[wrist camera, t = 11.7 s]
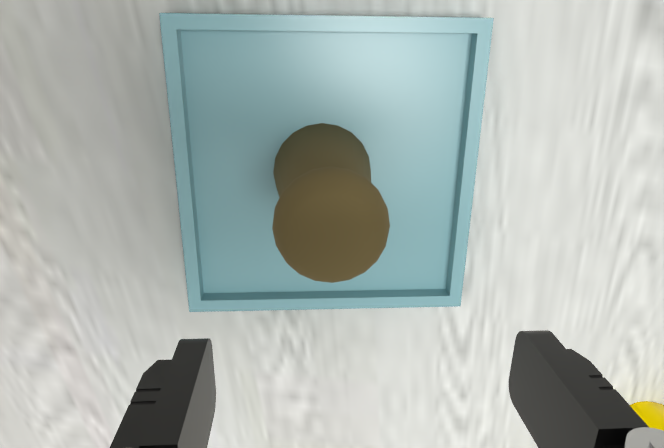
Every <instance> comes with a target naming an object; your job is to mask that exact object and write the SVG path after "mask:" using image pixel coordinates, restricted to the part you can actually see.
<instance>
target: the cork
mask: <svg viewBox="0 0 664 448" xmlns="http://www.w3.org/2000/svg"><path fill="white" fill-rule="evenodd" d="M273 174H274V179H275V184H276V188H277V191H278V194H279V200H278V202H277V204H276V206H275V210H274V218H273V226H272V230H273V235H274V239H275V244H276V246H277V248H278V250H279V251H280V253H281V255H282V256H283V258H284V260H285V261H286V263H287V264H288V265H289V266H290V267H292V268H293V269H294V270H295V271H296V272H297V273H299V274H300V275H302V276H305V277H307V278H309V279H312V280H314V281H320V282H329V283H334V282H340V281H346V280H350V279H352V278H354V277H356V276H359V275H361V274H363V273H365V272H366V271H367V270H368V269H369V268H370V267H371V266H372V265H373V264H375V263H376V262H377V261H378V259H379V257H380V255H381V254H382V252H383V250H384V249H385V247H386V243H387V238H388V233H389V228H390V222H389V214H388V208H387V206H386V204H385V202H384V200H383V198H382V196H381V194H380V192H379V190H378V189H377V188H376V187H375V186H374V185H373V184H372V183H371V168H370V161H369V156H368V154H367V152H366V150H365V148H364V146H363V144H362V142H361V141H360V140H359V139H358V138H357V137H356V136H355V135H354V134H353V133H352V132H350V131H348V130H346V129H344V128H342V127H340V126H338V125H332V124H325V123H319V124H313V125H308V126H305V127H303V128H301V129H299V130H297V131H295V132H294V133H292V134H291V135H290V136H289V137H288V138H287V139H286V140H285V141H284V142H283V143H282V145H281V147H280V149H279V151H278V153H277V155H276V157H275V163H274V171H273Z"/></svg>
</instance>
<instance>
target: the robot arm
mask: <svg viewBox="0 0 664 448" xmlns="http://www.w3.org/2000/svg"><path fill="white" fill-rule="evenodd" d="M509 392H510V397H511V400H512V403H513V405H514V407H515V408H516V410H517V412H518V413H519V415H520V417H521V419H522V420H523V422H524V424H525V425H526V427H527V429H528V431H529V432H530V434H531V436H532V437H533V439H534V441H535V443H536V444H537V446H538V448H664V431H663V430H660V429H655V428H649V427H648V425H647V424H646V423H645V422H644V421H643V420H642V419H641V418H640V416H639V415H638V414H637V413H636V412H635V411H634V410H633V409H632V408H631V406H630V405H629V404H628V403H627V402H626V401H625V400H624V399H623V397H622V396H621V395H620V394H619V393H618V392H617V391H616V390H615V389H613V386H612V385H611V384H610V383H609V382H608V381H607V380H606V378H603V377H602V374H601V373H600V372H599V371H598V369H597V368H596V367H595V366H594V365H593V364H592V363H591V362H590V361H589V360H588V359H586V358H584V357H583V356H581V355H580V354H578V353H577V352H575V351H574V350H572V349H565V347H564V346H563V345H562V344H561V343H560V341H559V340H558V339H557V338H556V337H555V336H554V334H553V333H552V332H550V331H520V332H519V333H518V334H517V336H516V340H515V346H514V352H513V358H512V364H511V370H510V376H509ZM215 402H216V387H215V376H214V364H213V352H212V343H211V340H210V339H181V340H180V341H179V343H178V345H177V348H176V350H175V353H174V356H173V358H172V360H157V361H156V362H155V363H154V364H153V365H152V366H151V367H150V368H149V369H148V370H147V371H146V372H144V373H143V375H142V378H141V380H140V382H139V384H138V386H137V389H136V392H135V393H134V395H133V397H132V400H131V404H130V405H129V406H128V408H127V411H126V413H125V415H124V417H123V420H122V422H121V424H120V426H119V428H118V431H117V433H116V435H115V437H114V439H113V442H112V444H111V446H110V448H207V445H208V440H209V435H210V431H211V426H212V422H213V417H214V412H215Z"/></svg>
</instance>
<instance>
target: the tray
mask: <svg viewBox="0 0 664 448" xmlns="http://www.w3.org/2000/svg"><path fill="white" fill-rule="evenodd" d="M159 15H160V25H161V35H162V44H163V54H164V64H165V74H166V84H167V94H168V104H169V114H170V124H171V134H172V144H173V153H174V163H175V173H176V183H177V193H178V203H179V213H180V223H181V233H182V243H183V252H184V262H185V272H186V282H187V292H188V302H189V312H206V311H255V310H304V309H352V308H401V307H449V306H460V305H461V296H462V288H463V279H464V270H465V262H466V253H467V244H468V236H469V227H470V218H471V210H472V201H473V192H474V184H475V175H476V166H477V158H478V149H479V140H480V132H481V123H482V114H483V106H484V97H485V88H486V80H487V71H488V62H489V54H490V45H491V36H492V28H493V19H494V18H464V17H396V16H328V15H260V14H193V13H159ZM319 123H325V124H332V125H338V126H340V127H342V128H344V129H346V130H348V131H350V132H352V133H353V134H354V135H355V136H356V137H357V138H358V139H359V140H360V141H361V142H362V144H363V146H364V148H365V150H366V152H367V154H368V156H369V161H370V168H371V183H372V184H373V185H374V186H375V187H376V188H377V189H378V190H379V192H380V194H381V196H382V198H383V200H384V202H385V204H386V206H387V208H388V214H389V222H390V228H389V233H388V238H387V243H386V247H385V249H384V250H383V252H382V254H381V255H380V257H379V259H378V261H377V262H376V263H375V264H373V265H372V266H371V267H370V268H369V269H368V270H367V271H366V272H365V273H363V274H361V275H359V276H356V277H354V278H352V279H350V280H346V281H340V282H334V283H329V282H320V281H314V280H312V279H309V278H307V277H305V276H302V275H300V274H299V273H297V272H296V271H295V270H294V269H293V268H292V267H290V266H289V265H288V264H287V263H286V261H285V260H284V258H283V256H282V255H281V253H280V251H279V250H278V248H277V246H276V244H275V239H274V235H273V230H272V226H273V218H274V210H275V206H276V204H277V202H278V200H279V194H278V191H277V188H276V184H275V179H274V174H273V171H274V163H275V157H276V155H277V153H278V151H279V149H280V147H281V145H282V143H283V142H284V141H285V140H286V139H287V138H288V137H289V136H290V135H291V134H292V133H294V132H295V131H297V130H299V129H301V128H303V127H305V126H308V125H313V124H319Z"/></svg>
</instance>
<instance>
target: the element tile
mask: <svg viewBox="0 0 664 448" xmlns="http://www.w3.org/2000/svg"><path fill="white" fill-rule="evenodd" d="M630 406H631V408H632V409H633V410H634V411H635V412H636V413H637V414H638V415H639V416H640V418H641V419H642V420H643V421H644V422H645V423H646V424H647V425H648V427H649V428H655V429H660V430H663V431H664V405H662V404H659V403H655V402H648V401H644V402H637V403H634V404H632V405H630Z"/></svg>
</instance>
